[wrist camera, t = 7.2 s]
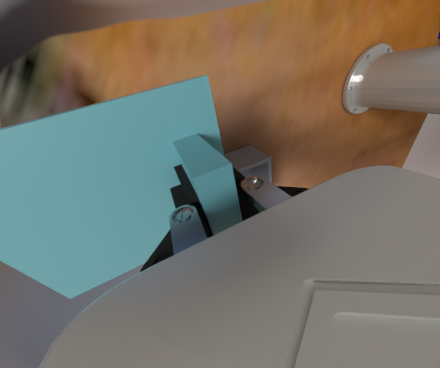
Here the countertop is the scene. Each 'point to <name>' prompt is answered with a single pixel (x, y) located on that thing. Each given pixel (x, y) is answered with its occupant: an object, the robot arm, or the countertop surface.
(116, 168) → the lid
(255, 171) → the tub
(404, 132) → the countertop surface
